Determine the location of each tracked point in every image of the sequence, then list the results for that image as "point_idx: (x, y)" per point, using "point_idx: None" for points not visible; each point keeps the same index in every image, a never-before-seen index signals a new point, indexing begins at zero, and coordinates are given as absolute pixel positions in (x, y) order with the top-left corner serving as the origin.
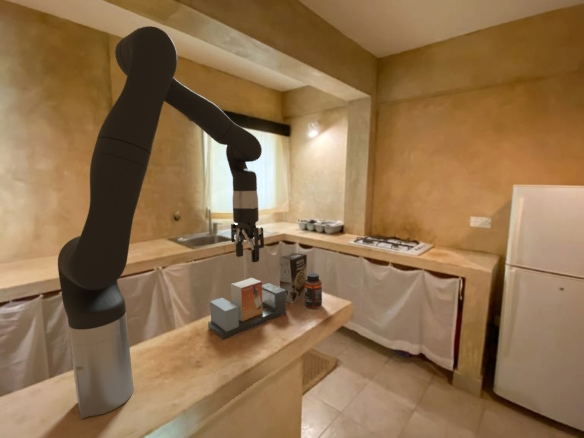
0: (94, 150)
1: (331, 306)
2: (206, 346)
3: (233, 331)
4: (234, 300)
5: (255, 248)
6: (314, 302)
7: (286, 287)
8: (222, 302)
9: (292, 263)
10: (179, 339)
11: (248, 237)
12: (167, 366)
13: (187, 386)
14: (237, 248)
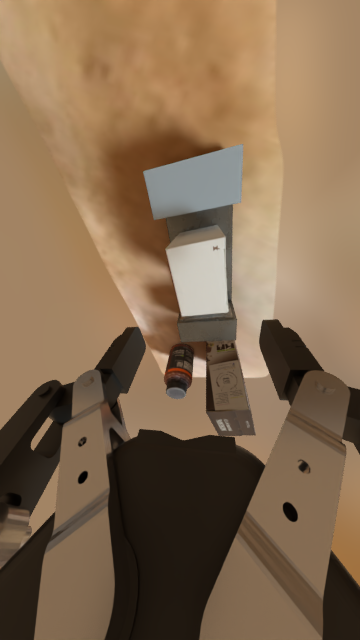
0: None
1: (167, 362)
2: (155, 118)
3: None
4: (203, 232)
5: (58, 381)
6: (170, 353)
7: (220, 354)
8: (204, 187)
9: (207, 402)
10: (231, 24)
11: (63, 466)
12: None
13: (23, 4)
14: (279, 355)
